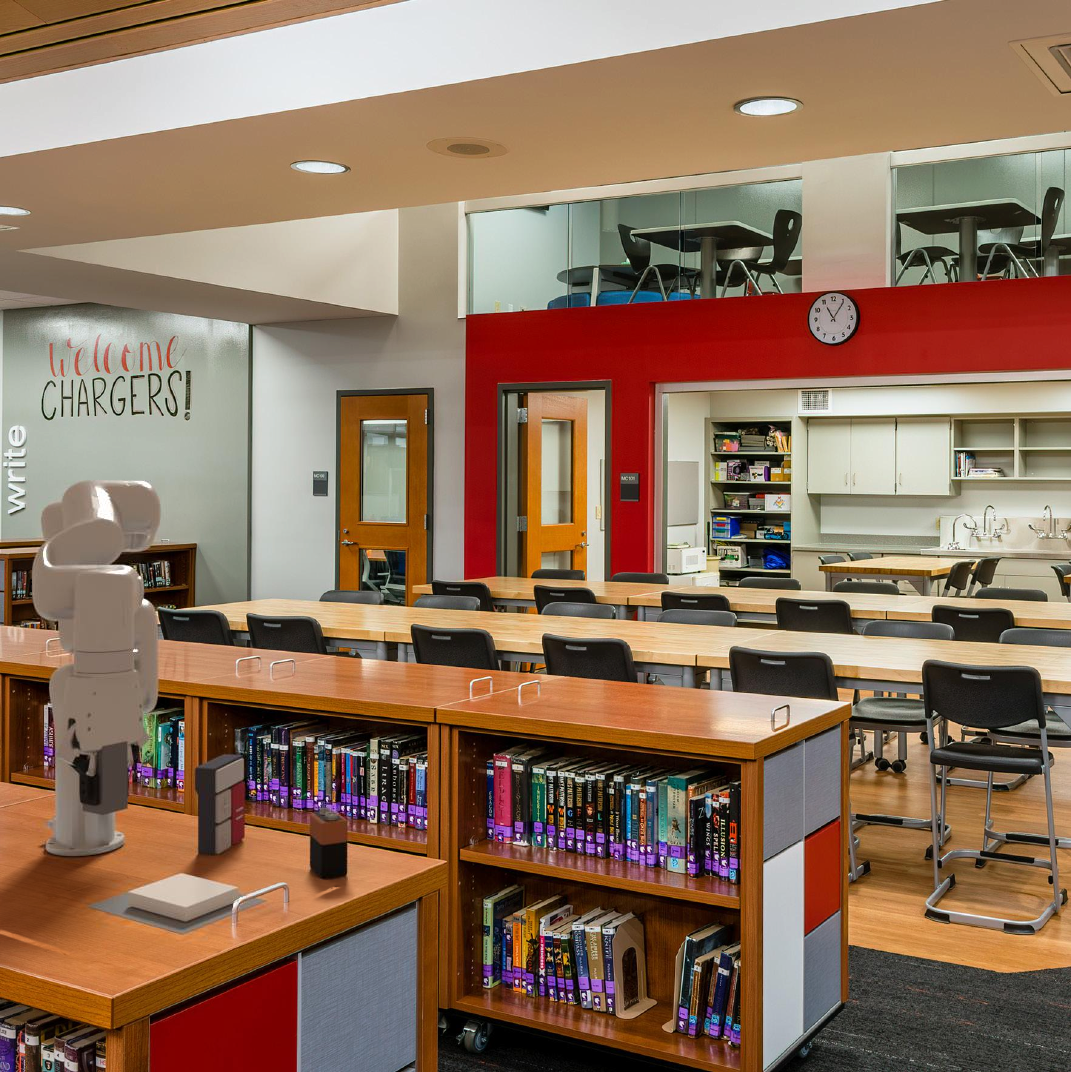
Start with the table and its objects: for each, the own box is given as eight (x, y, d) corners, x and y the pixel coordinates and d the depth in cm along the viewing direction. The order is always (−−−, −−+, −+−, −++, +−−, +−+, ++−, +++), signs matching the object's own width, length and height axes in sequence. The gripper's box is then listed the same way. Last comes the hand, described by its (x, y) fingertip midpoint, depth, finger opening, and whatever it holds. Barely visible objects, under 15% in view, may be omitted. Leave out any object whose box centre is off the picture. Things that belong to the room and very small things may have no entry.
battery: (321, 880, 185) (322, 817, 185) (308, 868, 191) (309, 807, 191) (348, 876, 187) (348, 814, 187) (334, 864, 193) (335, 804, 193)
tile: (127, 891, 171) (185, 907, 165) (181, 873, 180) (238, 887, 173) (127, 907, 171) (185, 923, 165) (181, 887, 180) (238, 902, 173)
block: (82, 810, 156) (82, 743, 155) (107, 804, 159) (107, 738, 159) (102, 815, 154) (102, 746, 153) (127, 808, 157) (127, 741, 157)
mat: (86, 909, 171) (86, 906, 171) (172, 879, 185) (172, 876, 185) (182, 937, 161) (182, 934, 161) (266, 903, 175) (266, 900, 175)
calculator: (218, 858, 196) (218, 769, 195) (194, 856, 197) (194, 767, 196) (247, 839, 207) (247, 754, 206) (224, 837, 208) (224, 753, 207)
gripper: (136, 654, 165) (136, 783, 166) (30, 668, 151) (30, 810, 151) (173, 658, 161) (173, 791, 162) (68, 672, 147) (68, 818, 147)
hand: (104, 798), depth 156 cm, fingers closed on block, 4 cm apart
